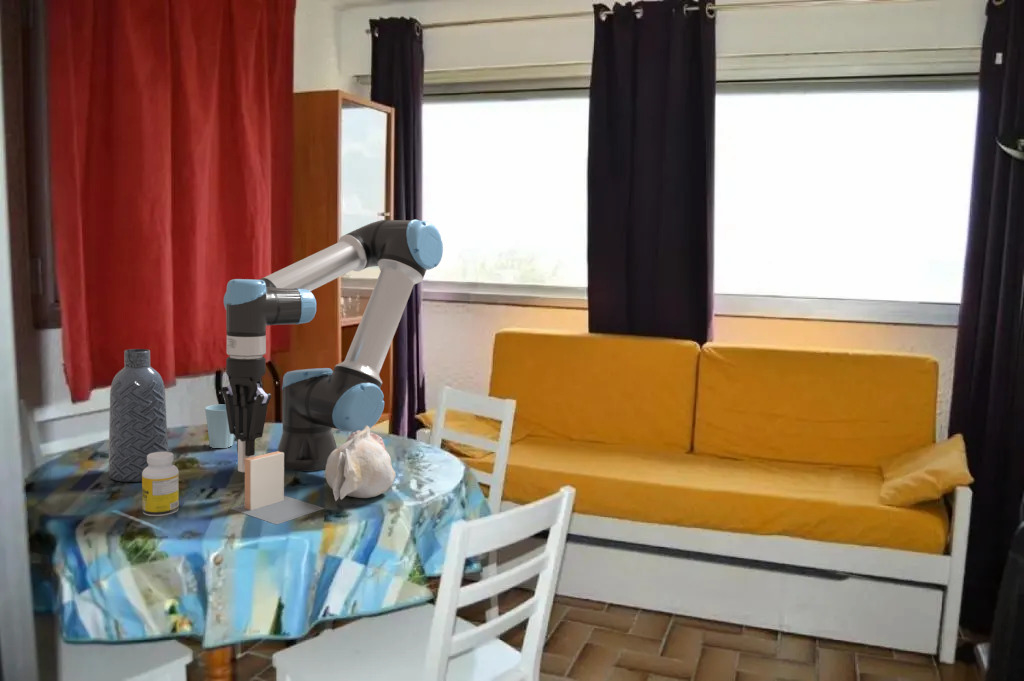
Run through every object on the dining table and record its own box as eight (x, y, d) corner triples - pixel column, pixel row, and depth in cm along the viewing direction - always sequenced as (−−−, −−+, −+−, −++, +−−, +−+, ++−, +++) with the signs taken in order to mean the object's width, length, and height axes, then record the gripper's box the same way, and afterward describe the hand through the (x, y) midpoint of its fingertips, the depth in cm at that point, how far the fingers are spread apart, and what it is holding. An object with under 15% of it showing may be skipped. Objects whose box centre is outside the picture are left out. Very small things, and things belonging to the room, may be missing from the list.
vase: (100, 474, 174) (97, 349, 171) (155, 464, 183) (153, 345, 179) (121, 486, 166) (119, 355, 162) (178, 476, 174) (176, 351, 171)
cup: (240, 448, 200) (240, 408, 199) (209, 451, 196) (209, 411, 194) (232, 441, 206) (232, 403, 205) (202, 445, 202) (201, 405, 201)
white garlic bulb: (412, 495, 167) (413, 427, 166) (340, 515, 153) (341, 441, 151) (364, 479, 178) (365, 414, 176) (292, 497, 163) (293, 427, 161)
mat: (229, 510, 153) (229, 508, 153) (278, 496, 163) (278, 494, 163) (276, 527, 146) (276, 524, 145) (325, 510, 155) (325, 508, 155)
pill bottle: (149, 507, 154) (149, 450, 152) (183, 507, 154) (183, 450, 153) (137, 518, 147) (136, 458, 146) (172, 518, 148) (171, 459, 146)
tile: (244, 508, 154) (244, 458, 153) (277, 498, 160) (277, 451, 159) (251, 510, 153) (251, 460, 151) (283, 500, 159) (284, 452, 158)
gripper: (209, 354, 157) (210, 468, 159) (250, 361, 150) (250, 480, 152) (241, 351, 163) (241, 460, 166) (282, 358, 156) (281, 472, 158)
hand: (245, 470), depth 159 cm, fingers closed
